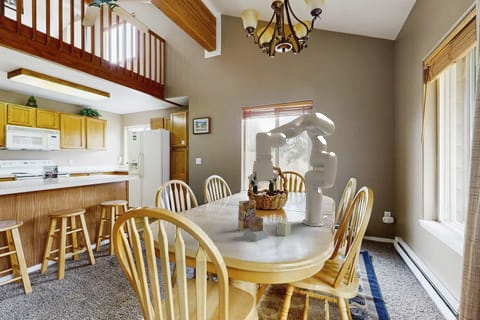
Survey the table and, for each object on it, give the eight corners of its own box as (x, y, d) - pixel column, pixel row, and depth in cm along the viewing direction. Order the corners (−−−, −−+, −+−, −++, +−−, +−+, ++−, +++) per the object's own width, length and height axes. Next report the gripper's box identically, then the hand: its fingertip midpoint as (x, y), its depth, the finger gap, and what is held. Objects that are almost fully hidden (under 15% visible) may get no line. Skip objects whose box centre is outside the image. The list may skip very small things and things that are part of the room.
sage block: (282, 231, 121) (282, 220, 121) (290, 233, 118) (291, 222, 118) (276, 233, 118) (277, 221, 118) (285, 236, 114) (285, 224, 114)
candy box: (242, 231, 120) (242, 202, 120) (237, 229, 124) (238, 200, 124) (255, 228, 125) (256, 200, 125) (251, 226, 129) (251, 199, 128)
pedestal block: (254, 234, 117) (254, 226, 117) (267, 238, 112) (267, 230, 112) (243, 238, 112) (243, 229, 112) (256, 242, 106) (256, 233, 106)
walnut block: (257, 227, 115) (257, 215, 115) (262, 230, 110) (263, 218, 110) (248, 229, 113) (248, 216, 113) (253, 232, 108) (253, 219, 108)
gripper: (272, 157, 121) (272, 190, 121) (244, 158, 112) (244, 193, 113) (282, 157, 114) (282, 192, 115) (252, 158, 106) (252, 195, 106)
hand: (263, 192), depth 114 cm, fingers open, 9 cm apart
